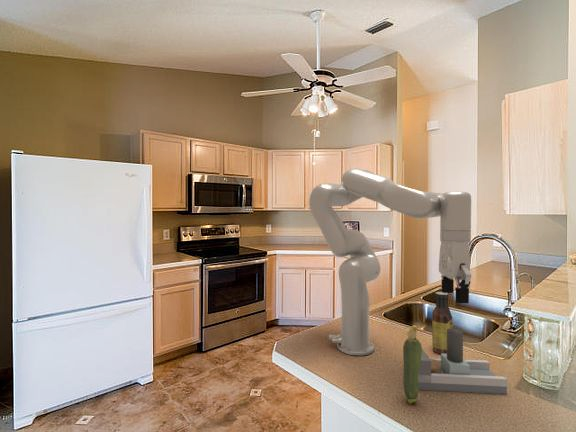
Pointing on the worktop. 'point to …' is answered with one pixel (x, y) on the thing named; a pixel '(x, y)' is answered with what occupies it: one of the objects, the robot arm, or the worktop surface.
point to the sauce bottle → (441, 323)
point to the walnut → (435, 366)
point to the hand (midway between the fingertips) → (454, 297)
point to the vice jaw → (454, 354)
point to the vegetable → (411, 365)
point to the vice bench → (461, 378)
